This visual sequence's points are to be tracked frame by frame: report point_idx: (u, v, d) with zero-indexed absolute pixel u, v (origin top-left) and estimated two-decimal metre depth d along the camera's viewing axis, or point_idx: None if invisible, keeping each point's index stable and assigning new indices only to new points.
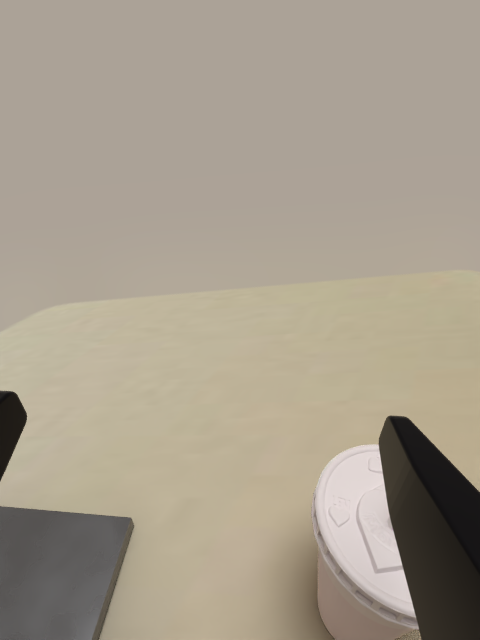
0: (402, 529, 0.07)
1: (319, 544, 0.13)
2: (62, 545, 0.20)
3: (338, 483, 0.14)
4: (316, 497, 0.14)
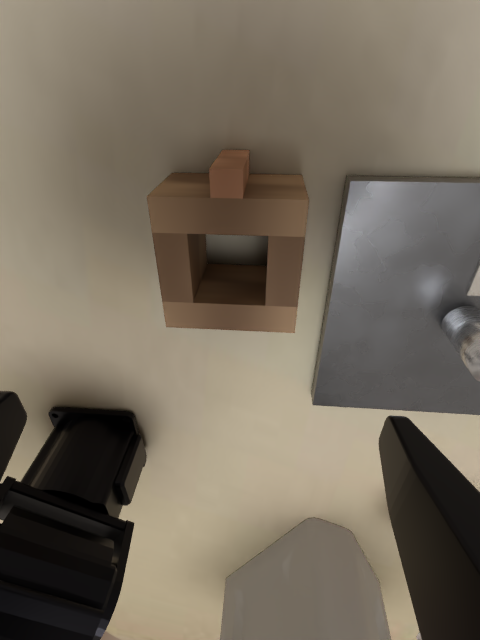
0: (402, 529, 0.07)
1: None
2: None
3: None
4: None
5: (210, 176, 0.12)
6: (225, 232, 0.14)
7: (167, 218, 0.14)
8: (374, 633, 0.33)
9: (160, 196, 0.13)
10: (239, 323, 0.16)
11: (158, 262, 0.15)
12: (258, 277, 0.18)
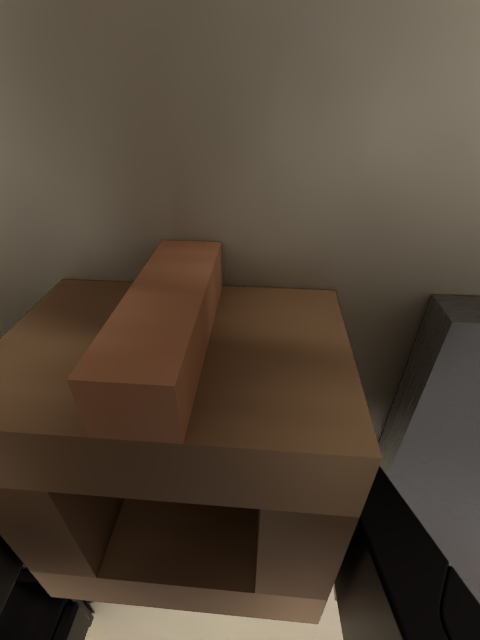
0: None
1: None
2: None
3: None
4: None
5: (74, 397, 0.04)
6: (145, 496, 0.05)
7: None
8: None
9: None
10: (200, 605, 0.08)
11: None
12: None
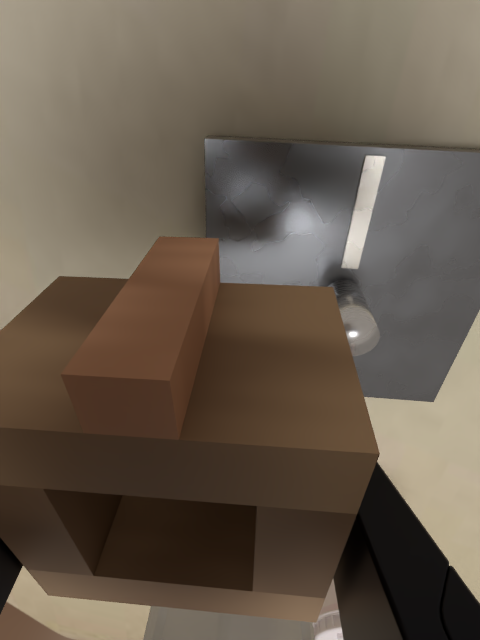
0: None
1: None
2: (421, 357, 0.20)
3: None
4: None
5: (69, 392, 0.04)
6: (141, 493, 0.05)
7: None
8: (293, 625, 0.32)
9: None
10: (198, 604, 0.07)
11: None
12: None
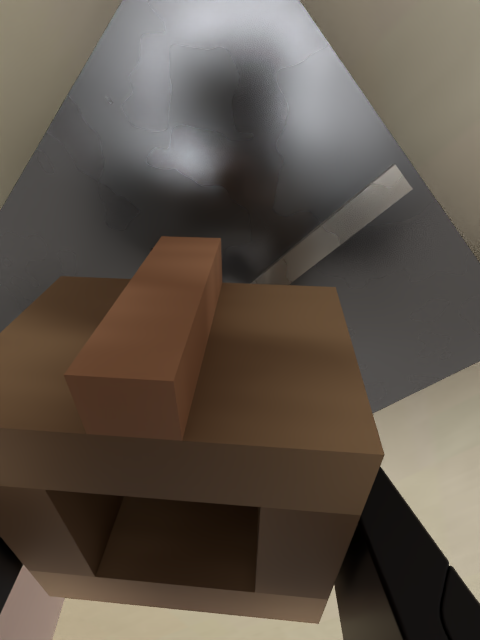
0: None
1: None
2: None
3: None
4: None
5: (72, 393, 0.04)
6: (144, 494, 0.05)
7: None
8: None
9: None
10: (200, 605, 0.07)
11: None
12: None
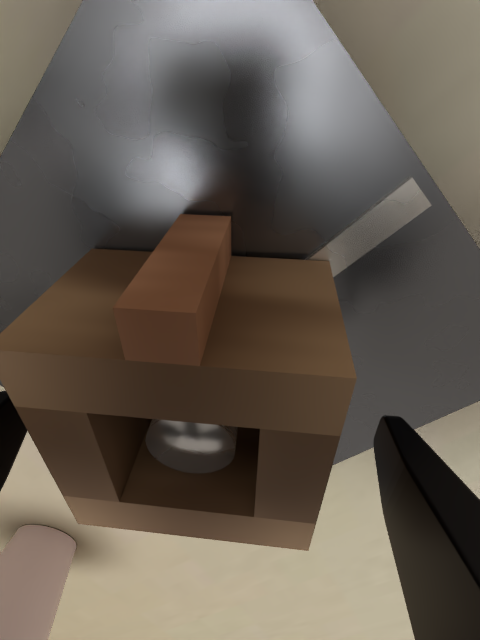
0: (396, 528, 0.07)
1: None
2: None
3: None
4: None
5: (117, 322, 0.05)
6: (166, 416, 0.06)
7: (39, 387, 0.06)
8: None
9: (14, 349, 0.06)
10: (207, 531, 0.09)
11: (40, 448, 0.07)
12: None
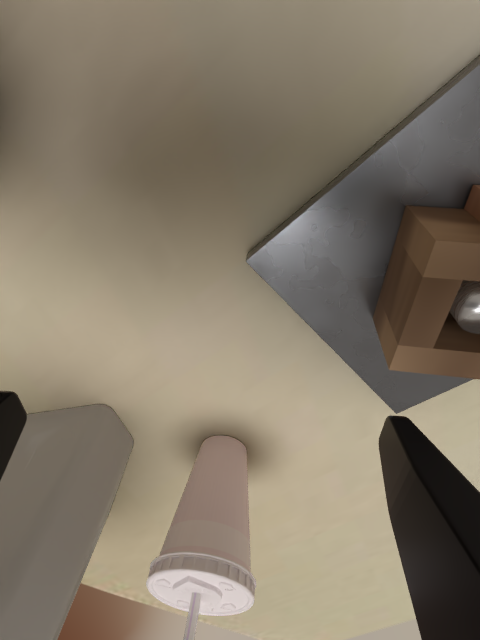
0: (402, 529, 0.07)
1: (226, 561, 0.19)
2: None
3: (239, 594, 0.20)
4: (243, 587, 0.19)
5: None
6: None
7: (448, 263, 0.12)
8: None
9: (450, 241, 0.12)
10: (475, 371, 0.15)
11: (414, 306, 0.14)
12: None
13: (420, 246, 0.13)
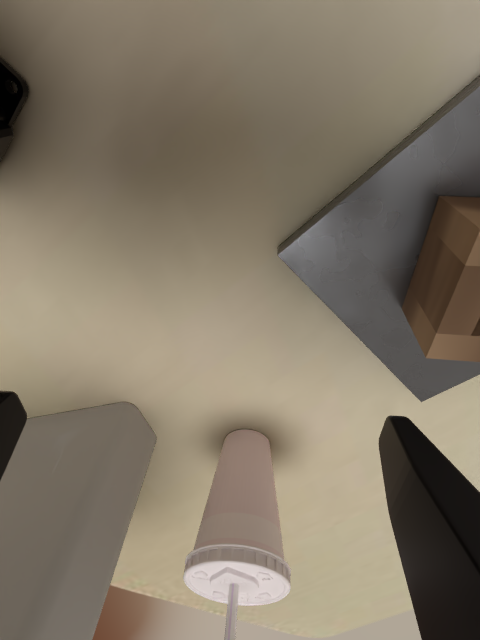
0: (402, 529, 0.07)
1: (263, 551, 0.19)
2: None
3: (275, 583, 0.20)
4: (280, 576, 0.19)
5: None
6: None
7: None
8: None
9: None
10: None
11: (454, 295, 0.14)
12: None
13: (460, 235, 0.14)
